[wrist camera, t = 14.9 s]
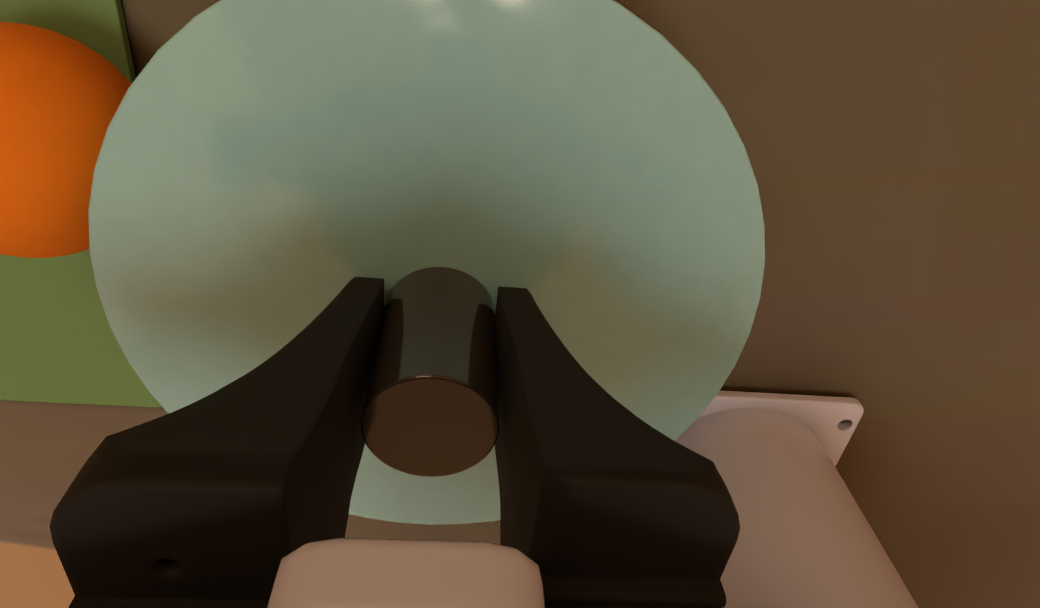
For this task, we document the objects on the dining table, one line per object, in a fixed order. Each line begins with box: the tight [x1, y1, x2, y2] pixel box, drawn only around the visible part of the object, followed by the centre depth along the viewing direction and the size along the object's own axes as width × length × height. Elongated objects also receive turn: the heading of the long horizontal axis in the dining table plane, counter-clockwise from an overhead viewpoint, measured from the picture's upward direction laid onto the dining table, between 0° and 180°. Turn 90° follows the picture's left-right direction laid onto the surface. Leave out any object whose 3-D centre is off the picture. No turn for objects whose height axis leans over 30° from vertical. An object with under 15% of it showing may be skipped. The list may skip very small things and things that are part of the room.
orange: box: [0, 22, 131, 258], centre depth 15 cm, size 5×5×5 cm
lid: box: [88, 0, 765, 525], centre depth 14 cm, size 14×14×5 cm
